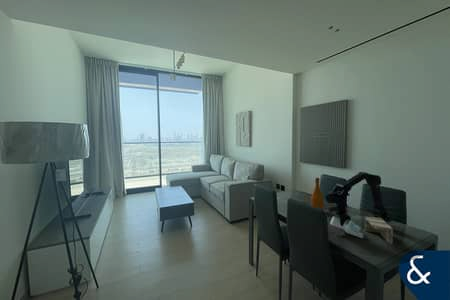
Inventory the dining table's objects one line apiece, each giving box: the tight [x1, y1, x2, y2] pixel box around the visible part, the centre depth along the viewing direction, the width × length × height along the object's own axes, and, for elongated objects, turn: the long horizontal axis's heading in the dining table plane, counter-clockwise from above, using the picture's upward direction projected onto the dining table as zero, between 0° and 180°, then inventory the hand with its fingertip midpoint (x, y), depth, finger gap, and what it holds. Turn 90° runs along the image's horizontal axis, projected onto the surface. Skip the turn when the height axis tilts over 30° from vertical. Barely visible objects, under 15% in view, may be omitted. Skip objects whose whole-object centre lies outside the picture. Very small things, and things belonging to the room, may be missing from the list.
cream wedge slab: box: [364, 216, 394, 246], centre depth 123 cm, size 16×9×10 cm, turn 161°
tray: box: [329, 216, 365, 239], centre depth 129 cm, size 12×18×6 cm, turn 83°
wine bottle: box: [310, 177, 324, 211], centre depth 167 cm, size 10×10×30 cm
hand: (341, 224), depth 129 cm, fingers closed on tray, 3 cm apart
